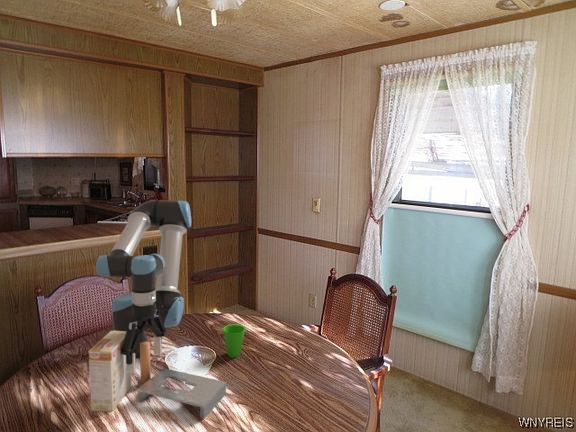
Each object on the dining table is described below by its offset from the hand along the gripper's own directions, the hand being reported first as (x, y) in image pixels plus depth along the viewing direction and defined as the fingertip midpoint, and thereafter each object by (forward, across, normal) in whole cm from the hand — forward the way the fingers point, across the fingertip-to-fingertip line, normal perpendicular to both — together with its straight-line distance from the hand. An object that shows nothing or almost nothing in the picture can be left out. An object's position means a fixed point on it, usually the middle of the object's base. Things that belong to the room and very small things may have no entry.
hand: (145, 363), depth 137 cm
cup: (+8, +31, -18) cm, 37 cm away
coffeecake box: (+8, -10, +5) cm, 14 cm away
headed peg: (+8, 0, 0) cm, 8 cm away
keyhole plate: (+8, -2, -16) cm, 18 cm away
